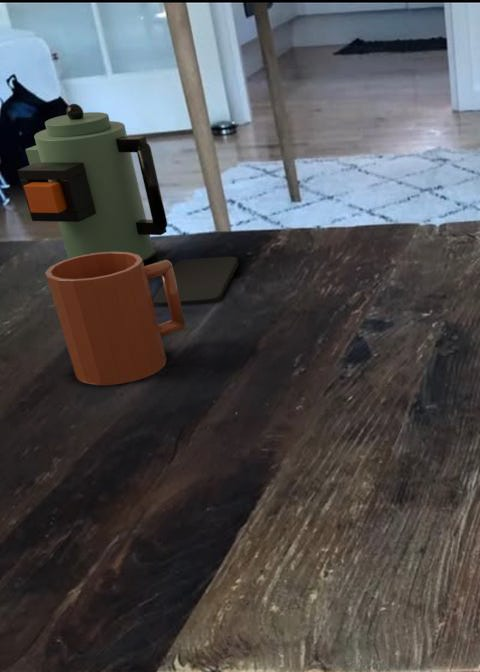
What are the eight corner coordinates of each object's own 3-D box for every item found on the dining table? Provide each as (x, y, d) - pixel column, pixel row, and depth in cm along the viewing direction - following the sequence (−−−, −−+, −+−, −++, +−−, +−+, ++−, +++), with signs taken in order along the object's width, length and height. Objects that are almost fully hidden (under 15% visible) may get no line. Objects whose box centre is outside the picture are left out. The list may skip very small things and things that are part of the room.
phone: (149, 303, 120) (176, 260, 132) (151, 311, 120) (178, 267, 132) (218, 298, 119) (239, 255, 131) (220, 306, 120) (240, 262, 132)
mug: (108, 397, 101) (77, 286, 95) (60, 377, 106) (28, 270, 100) (215, 355, 108) (192, 249, 102) (165, 338, 113) (141, 236, 107)
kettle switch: (30, 212, 123) (23, 185, 122) (40, 208, 125) (33, 181, 123) (58, 213, 122) (51, 186, 121) (67, 208, 124) (60, 181, 122)
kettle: (20, 285, 131) (-30, 120, 120) (87, 250, 141) (45, 95, 131) (138, 289, 127) (96, 119, 116) (197, 253, 137) (164, 93, 126)
